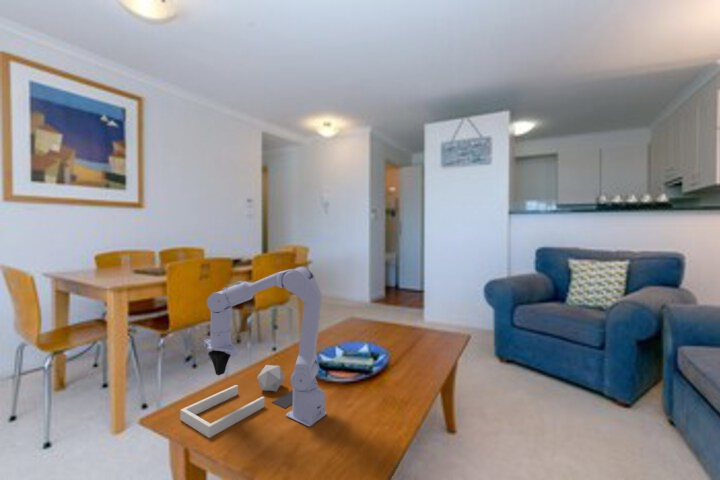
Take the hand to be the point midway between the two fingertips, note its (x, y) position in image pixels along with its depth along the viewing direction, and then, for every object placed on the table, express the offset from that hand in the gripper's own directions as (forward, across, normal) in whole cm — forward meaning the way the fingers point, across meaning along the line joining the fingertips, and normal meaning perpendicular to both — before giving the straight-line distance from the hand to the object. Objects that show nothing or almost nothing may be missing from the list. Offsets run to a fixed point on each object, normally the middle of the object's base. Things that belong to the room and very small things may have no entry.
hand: (220, 373), depth 100 cm
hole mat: (+10, +14, +16) cm, 24 cm away
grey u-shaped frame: (+10, +4, -1) cm, 11 cm away
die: (+11, +4, +17) cm, 20 cm away
